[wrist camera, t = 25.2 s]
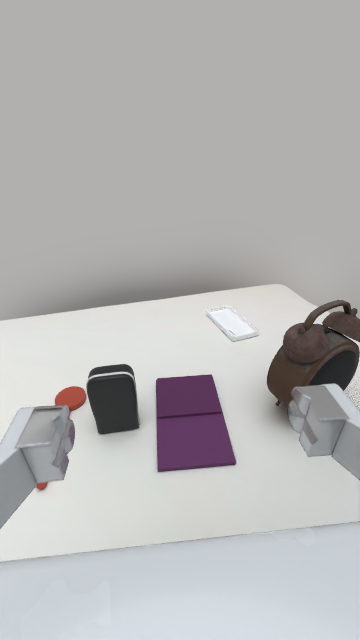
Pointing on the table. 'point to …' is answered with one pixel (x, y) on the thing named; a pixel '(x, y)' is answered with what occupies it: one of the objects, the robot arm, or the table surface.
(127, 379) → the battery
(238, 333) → the phone case
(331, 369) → the alarm clock
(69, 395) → the spoon
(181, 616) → the robot arm
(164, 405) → the cloth
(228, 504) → the table surface
